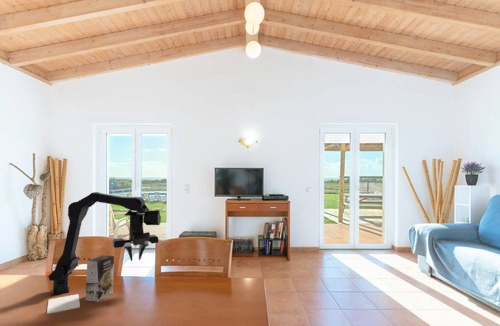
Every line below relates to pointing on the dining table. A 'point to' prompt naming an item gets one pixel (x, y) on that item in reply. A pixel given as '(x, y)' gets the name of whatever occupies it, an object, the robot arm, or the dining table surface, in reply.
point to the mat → (63, 303)
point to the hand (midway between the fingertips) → (135, 260)
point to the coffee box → (99, 278)
